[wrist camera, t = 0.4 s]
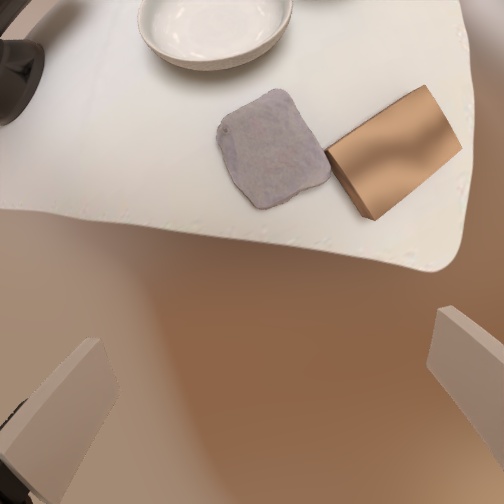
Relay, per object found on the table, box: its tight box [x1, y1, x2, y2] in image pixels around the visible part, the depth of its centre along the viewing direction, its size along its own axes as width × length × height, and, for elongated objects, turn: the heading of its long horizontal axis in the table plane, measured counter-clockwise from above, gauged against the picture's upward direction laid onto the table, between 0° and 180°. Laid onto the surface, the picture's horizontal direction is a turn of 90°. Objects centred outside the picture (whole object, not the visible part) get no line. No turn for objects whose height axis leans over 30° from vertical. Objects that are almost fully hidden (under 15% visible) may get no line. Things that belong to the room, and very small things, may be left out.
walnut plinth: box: [324, 85, 462, 221], centre depth 28 cm, size 9×16×4 cm, turn 127°
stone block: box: [216, 89, 331, 209], centre depth 30 cm, size 12×5×10 cm
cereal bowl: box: [138, 0, 293, 71], centre depth 23 cm, size 17×17×7 cm
